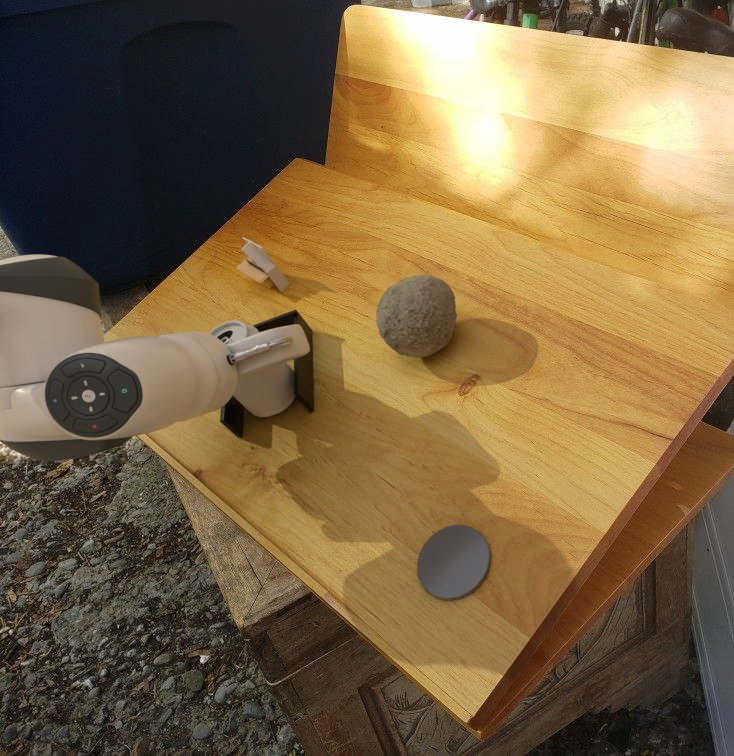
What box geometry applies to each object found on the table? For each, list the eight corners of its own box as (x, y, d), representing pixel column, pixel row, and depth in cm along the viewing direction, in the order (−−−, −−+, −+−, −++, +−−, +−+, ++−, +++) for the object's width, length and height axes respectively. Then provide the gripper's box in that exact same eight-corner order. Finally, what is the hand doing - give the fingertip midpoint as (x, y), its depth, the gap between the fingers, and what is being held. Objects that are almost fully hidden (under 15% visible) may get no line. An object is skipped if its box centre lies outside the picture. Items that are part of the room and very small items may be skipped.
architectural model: (274, 299, 102) (245, 263, 96) (250, 284, 106) (221, 249, 100) (290, 283, 103) (263, 247, 97) (266, 269, 107) (239, 234, 101)
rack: (314, 411, 86) (296, 391, 82) (238, 438, 87) (217, 419, 83) (312, 330, 95) (295, 308, 91) (243, 355, 96) (224, 335, 92)
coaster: (473, 610, 64) (471, 608, 64) (406, 588, 68) (404, 586, 67) (502, 537, 68) (500, 534, 68) (437, 519, 71) (435, 517, 71)
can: (287, 364, 92) (236, 305, 83) (312, 392, 87) (260, 333, 78) (242, 400, 90) (184, 344, 81) (265, 431, 86) (206, 375, 77)
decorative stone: (418, 384, 83) (385, 333, 76) (386, 349, 88) (351, 298, 81) (483, 334, 85) (456, 279, 77) (447, 302, 90) (419, 248, 83)
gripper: (269, 311, 69) (315, 309, 83) (92, 378, 71) (165, 365, 85) (292, 370, 70) (333, 358, 83) (115, 434, 72) (184, 412, 85)
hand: (247, 362), depth 84 cm, fingers closed on can, 7 cm apart
